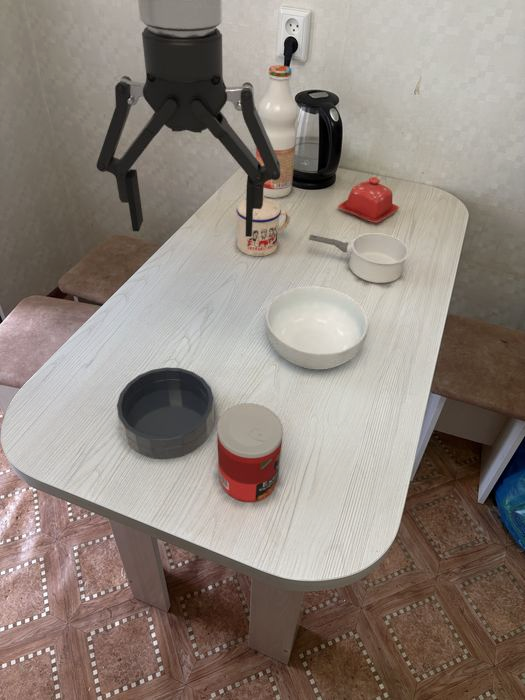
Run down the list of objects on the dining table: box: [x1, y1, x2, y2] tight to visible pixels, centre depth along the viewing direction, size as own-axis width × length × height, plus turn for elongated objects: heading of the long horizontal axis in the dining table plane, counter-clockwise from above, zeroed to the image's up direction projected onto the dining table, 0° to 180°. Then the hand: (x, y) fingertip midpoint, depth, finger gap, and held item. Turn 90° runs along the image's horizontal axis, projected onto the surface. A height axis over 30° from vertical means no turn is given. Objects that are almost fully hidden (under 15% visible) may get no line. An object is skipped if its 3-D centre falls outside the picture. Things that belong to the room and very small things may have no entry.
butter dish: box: [337, 176, 400, 224], centre depth 119 cm, size 12×12×8 cm
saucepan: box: [308, 232, 410, 284], centre depth 103 cm, size 12×20×6 cm, turn 76°
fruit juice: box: [255, 64, 299, 199], centre depth 119 cm, size 9×9×28 cm
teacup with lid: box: [235, 196, 291, 257], centre depth 105 cm, size 12×9×12 cm
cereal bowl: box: [264, 285, 369, 370], centre depth 84 cm, size 17×17×7 cm
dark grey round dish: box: [116, 366, 215, 460], centre depth 72 cm, size 13×13×4 cm
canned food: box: [216, 402, 284, 503], centre depth 64 cm, size 8×8×11 cm
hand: (193, 228), depth 62 cm, fingers open, 13 cm apart
